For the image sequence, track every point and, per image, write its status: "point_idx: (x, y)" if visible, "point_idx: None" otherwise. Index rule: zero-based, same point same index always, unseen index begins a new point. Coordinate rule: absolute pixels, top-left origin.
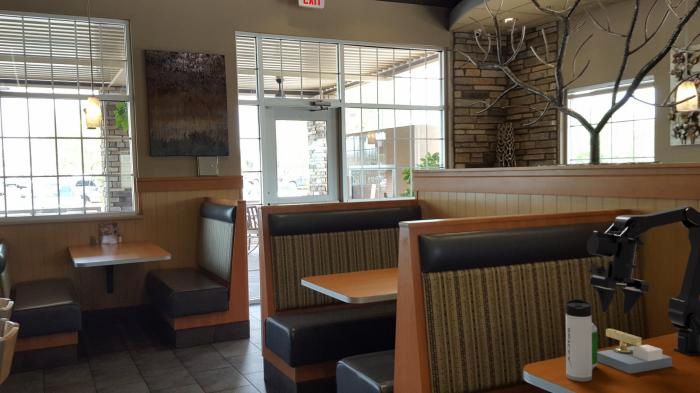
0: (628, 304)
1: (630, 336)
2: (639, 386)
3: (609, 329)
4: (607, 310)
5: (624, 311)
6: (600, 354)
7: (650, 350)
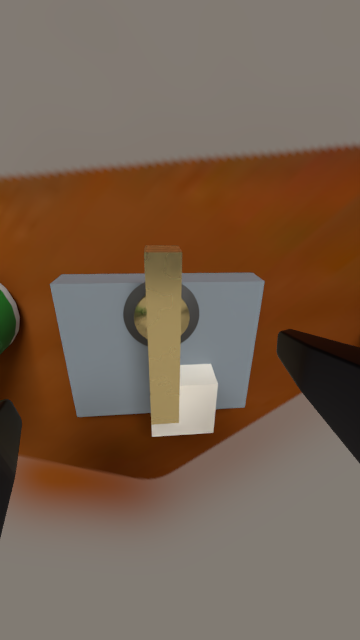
0: (338, 405)
1: (153, 397)
2: (46, 456)
3: (157, 267)
4: (18, 446)
5: (285, 342)
6: (56, 306)
7: (168, 431)
